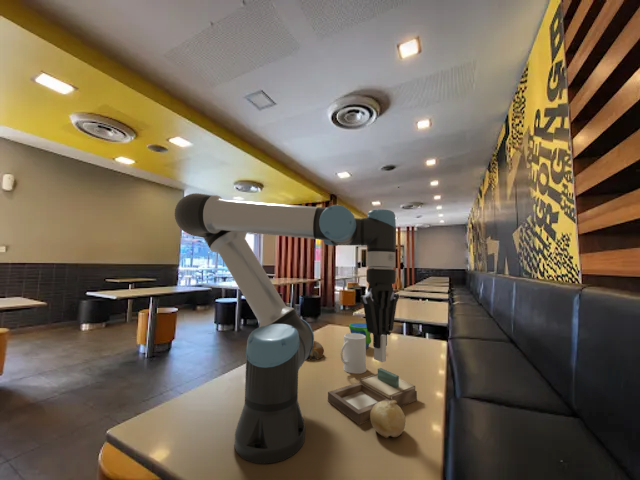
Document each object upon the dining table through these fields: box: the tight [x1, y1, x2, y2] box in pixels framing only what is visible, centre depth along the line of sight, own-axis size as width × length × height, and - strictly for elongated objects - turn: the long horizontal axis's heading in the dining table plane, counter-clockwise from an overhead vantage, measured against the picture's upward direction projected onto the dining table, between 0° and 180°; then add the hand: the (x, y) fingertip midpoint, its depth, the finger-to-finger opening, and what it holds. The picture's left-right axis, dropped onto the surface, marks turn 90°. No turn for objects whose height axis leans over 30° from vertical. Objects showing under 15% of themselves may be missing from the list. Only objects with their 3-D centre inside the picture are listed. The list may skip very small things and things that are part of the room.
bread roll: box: [306, 340, 325, 360], centre depth 112 cm, size 10×10×8 cm
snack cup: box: [348, 322, 372, 349], centre depth 124 cm, size 16×10×10 cm
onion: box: [370, 396, 406, 439], centre depth 62 cm, size 8×8×7 cm
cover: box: [362, 367, 416, 398], centre depth 79 cm, size 11×11×4 cm
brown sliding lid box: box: [327, 373, 418, 426], centre depth 75 cm, size 22×13×4 cm, turn 123°
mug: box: [340, 332, 367, 375], centre depth 97 cm, size 12×8×12 cm
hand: (379, 360), depth 68 cm, fingers closed
